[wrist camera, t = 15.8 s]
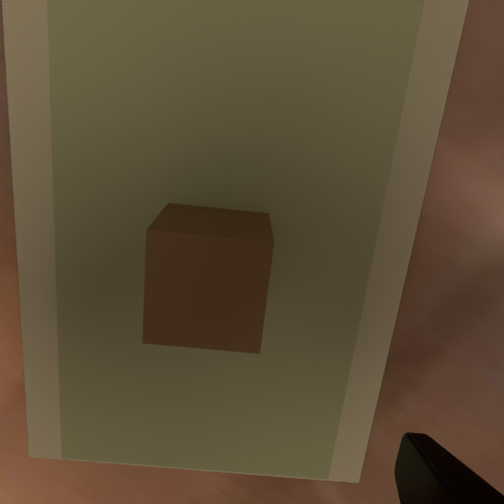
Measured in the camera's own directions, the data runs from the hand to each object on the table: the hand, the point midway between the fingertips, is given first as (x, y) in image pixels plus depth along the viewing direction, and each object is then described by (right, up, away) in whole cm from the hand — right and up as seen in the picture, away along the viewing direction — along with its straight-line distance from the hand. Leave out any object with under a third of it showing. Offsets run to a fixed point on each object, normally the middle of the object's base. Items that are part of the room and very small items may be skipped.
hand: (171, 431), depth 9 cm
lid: (0, +4, +11) cm, 11 cm away
